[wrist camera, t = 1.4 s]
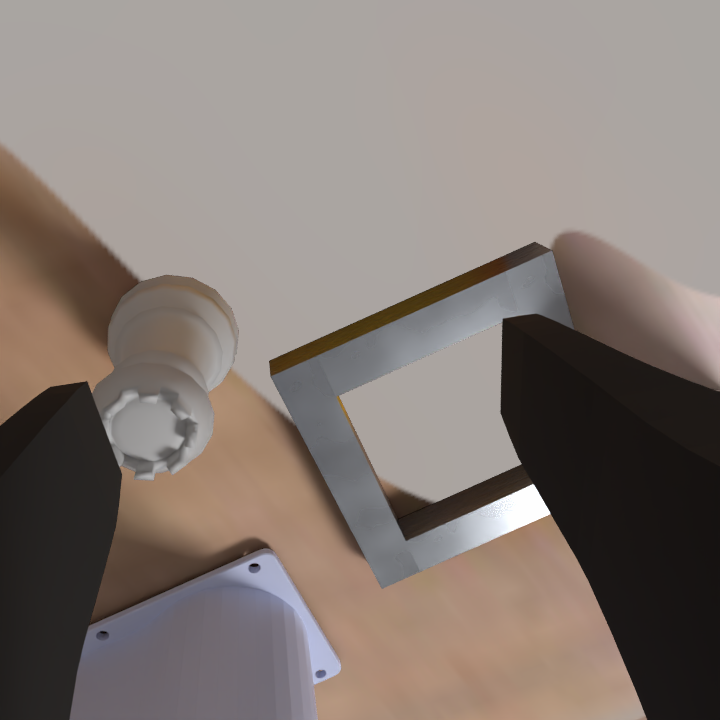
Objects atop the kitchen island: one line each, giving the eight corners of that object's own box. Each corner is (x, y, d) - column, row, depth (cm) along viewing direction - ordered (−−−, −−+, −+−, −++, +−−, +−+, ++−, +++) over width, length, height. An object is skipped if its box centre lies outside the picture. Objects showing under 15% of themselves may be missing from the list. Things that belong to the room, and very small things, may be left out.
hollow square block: (375, 565, 29) (381, 588, 28) (269, 360, 24) (270, 376, 23) (600, 465, 29) (617, 483, 28) (535, 241, 24) (552, 250, 23)
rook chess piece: (99, 369, 24) (33, 492, 16) (129, 254, 22) (72, 331, 15) (219, 400, 25) (209, 527, 17) (254, 293, 23) (259, 382, 16)
